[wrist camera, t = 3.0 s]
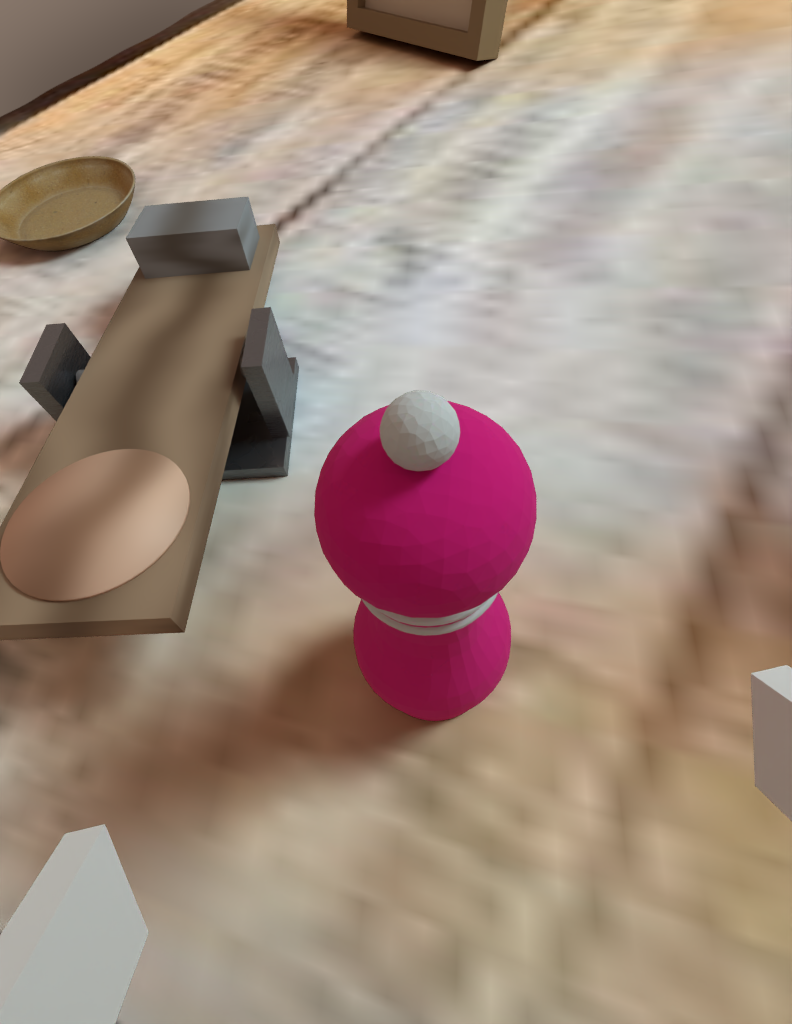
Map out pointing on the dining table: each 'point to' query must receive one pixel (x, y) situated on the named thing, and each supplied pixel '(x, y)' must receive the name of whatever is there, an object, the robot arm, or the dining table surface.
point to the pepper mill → (427, 548)
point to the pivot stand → (262, 407)
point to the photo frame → (434, 24)
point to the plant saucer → (66, 203)
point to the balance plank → (141, 437)
